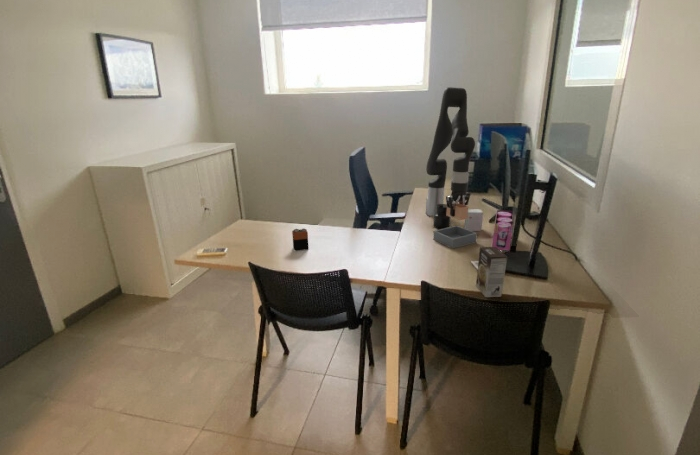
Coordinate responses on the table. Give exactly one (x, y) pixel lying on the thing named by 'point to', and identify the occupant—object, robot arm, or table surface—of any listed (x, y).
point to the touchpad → (475, 263)
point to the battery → (300, 239)
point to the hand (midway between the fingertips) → (456, 214)
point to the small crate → (459, 212)
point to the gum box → (503, 230)
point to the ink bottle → (441, 217)
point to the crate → (454, 236)
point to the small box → (474, 220)
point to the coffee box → (491, 271)
